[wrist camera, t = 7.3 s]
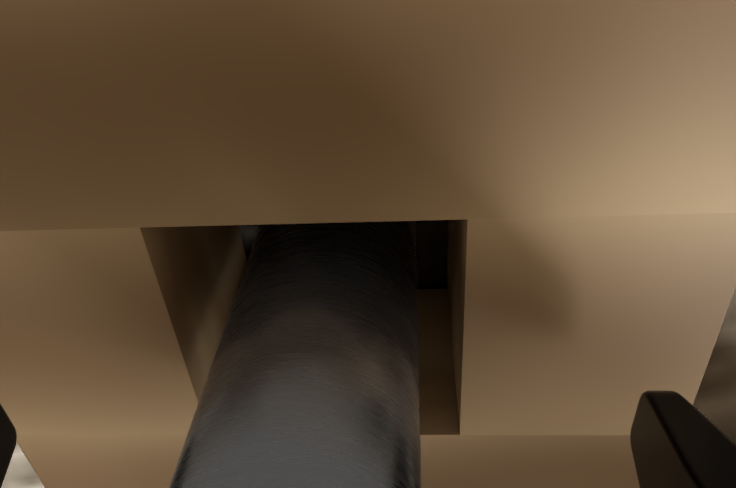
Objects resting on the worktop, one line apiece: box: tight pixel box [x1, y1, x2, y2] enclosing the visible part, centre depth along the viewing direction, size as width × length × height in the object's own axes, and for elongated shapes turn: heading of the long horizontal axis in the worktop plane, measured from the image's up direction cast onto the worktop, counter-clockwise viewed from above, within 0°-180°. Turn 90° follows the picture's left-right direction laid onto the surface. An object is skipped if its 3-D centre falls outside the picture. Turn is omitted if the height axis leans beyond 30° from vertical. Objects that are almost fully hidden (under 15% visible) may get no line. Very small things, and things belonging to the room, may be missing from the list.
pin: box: [169, 221, 421, 488], centre depth 9 cm, size 3×3×10 cm
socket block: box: [0, 0, 736, 488], centre depth 11 cm, size 12×12×4 cm
